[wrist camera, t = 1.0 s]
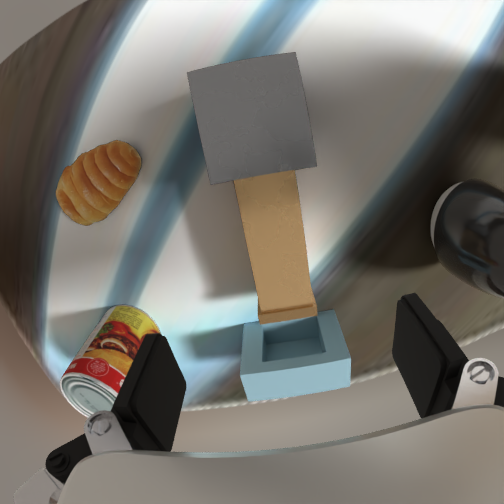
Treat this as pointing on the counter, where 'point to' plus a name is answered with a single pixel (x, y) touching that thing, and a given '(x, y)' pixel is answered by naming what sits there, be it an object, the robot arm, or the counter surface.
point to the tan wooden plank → (276, 246)
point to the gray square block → (252, 117)
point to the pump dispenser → (471, 234)
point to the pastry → (98, 181)
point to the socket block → (294, 357)
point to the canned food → (106, 359)
